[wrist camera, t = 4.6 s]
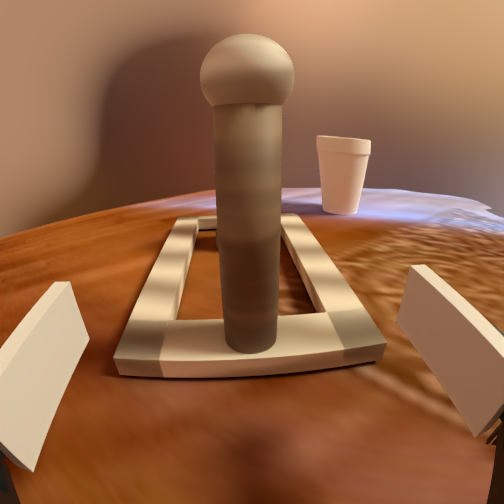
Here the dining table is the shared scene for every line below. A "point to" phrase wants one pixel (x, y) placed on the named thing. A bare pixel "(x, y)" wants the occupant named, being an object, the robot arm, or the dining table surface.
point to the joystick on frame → (247, 249)
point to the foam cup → (342, 172)
